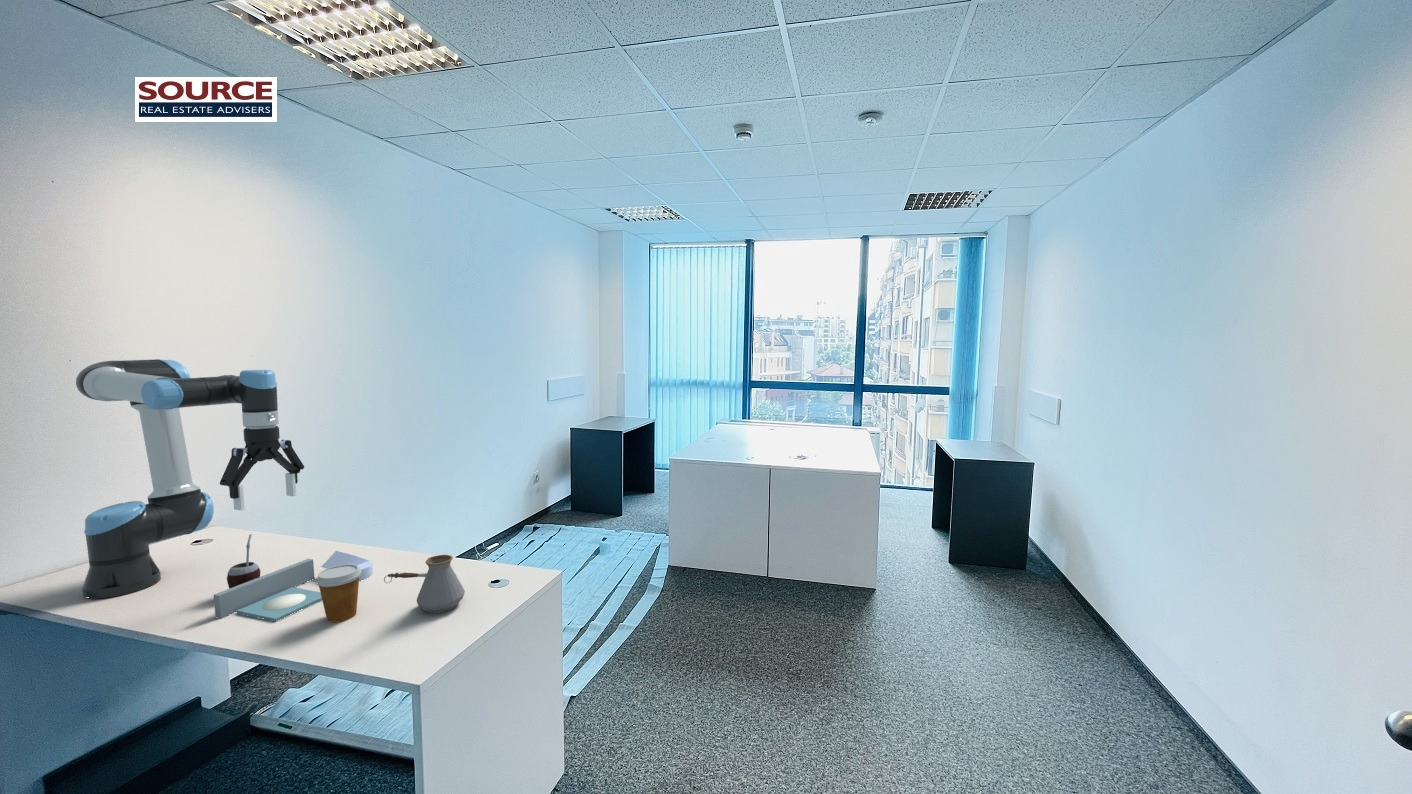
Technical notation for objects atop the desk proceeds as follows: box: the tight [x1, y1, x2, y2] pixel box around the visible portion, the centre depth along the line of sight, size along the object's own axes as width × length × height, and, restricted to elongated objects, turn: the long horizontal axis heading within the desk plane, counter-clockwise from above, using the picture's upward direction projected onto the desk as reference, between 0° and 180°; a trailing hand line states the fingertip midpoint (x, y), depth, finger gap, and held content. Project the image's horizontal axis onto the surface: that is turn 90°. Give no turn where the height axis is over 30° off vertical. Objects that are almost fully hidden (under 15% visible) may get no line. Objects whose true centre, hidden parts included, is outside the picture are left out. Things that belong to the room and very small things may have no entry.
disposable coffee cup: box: [315, 564, 361, 623], centre depth 137 cm, size 10×10×12 cm
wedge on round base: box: [320, 550, 374, 582], centre depth 161 cm, size 9×7×13 cm
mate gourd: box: [226, 534, 261, 589], centre depth 149 cm, size 8×8×15 cm
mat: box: [236, 587, 322, 622], centre depth 143 cm, size 14×14×1 cm
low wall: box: [212, 558, 316, 619], centre depth 147 cm, size 2×24×6 cm, turn 163°
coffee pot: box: [383, 554, 466, 614], centre depth 137 cm, size 21×12×15 cm, turn 161°
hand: (266, 502), depth 149 cm, fingers open, 13 cm apart
